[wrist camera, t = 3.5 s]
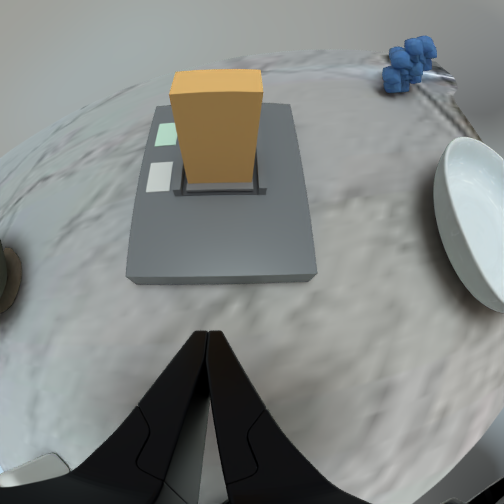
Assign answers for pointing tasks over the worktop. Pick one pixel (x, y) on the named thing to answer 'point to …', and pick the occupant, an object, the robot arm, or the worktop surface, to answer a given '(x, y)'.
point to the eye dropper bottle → (34, 471)
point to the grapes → (408, 64)
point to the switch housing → (222, 214)
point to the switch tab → (217, 126)
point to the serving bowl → (473, 217)
